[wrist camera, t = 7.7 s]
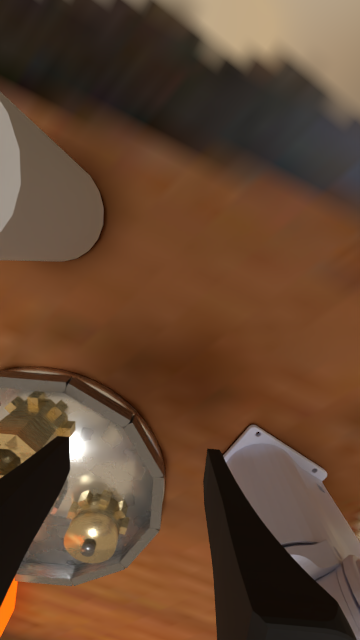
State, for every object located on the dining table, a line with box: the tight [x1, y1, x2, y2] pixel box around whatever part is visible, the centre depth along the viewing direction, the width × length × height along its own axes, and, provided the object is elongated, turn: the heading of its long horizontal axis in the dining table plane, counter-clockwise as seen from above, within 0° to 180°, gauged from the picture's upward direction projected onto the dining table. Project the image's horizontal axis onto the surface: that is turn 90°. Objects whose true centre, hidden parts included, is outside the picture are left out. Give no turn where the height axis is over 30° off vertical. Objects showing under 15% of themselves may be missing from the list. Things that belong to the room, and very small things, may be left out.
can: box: [0, 92, 104, 261], centre depth 13 cm, size 8×8×12 cm
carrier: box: [0, 367, 165, 586], centre depth 23 cm, size 24×24×4 cm
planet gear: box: [0, 391, 75, 478], centre depth 20 cm, size 6×6×5 cm
